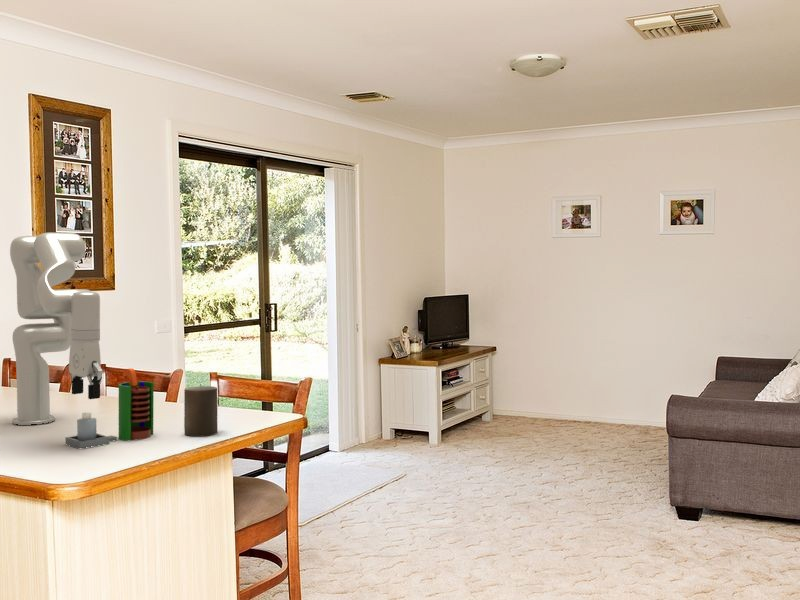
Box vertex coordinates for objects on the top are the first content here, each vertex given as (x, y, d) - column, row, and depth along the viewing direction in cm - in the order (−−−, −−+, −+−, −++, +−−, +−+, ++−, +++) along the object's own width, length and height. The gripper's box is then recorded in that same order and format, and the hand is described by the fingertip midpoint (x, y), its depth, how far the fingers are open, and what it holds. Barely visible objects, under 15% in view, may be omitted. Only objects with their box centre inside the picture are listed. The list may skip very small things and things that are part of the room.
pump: (74, 444, 223) (73, 413, 222) (91, 441, 227) (90, 410, 226) (82, 447, 219) (82, 415, 219) (100, 444, 223) (99, 413, 223)
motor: (139, 441, 227) (139, 371, 226) (111, 439, 229) (110, 370, 228) (157, 434, 237) (156, 367, 236) (130, 432, 239) (129, 366, 238)
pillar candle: (209, 437, 232) (209, 386, 232) (178, 435, 234) (178, 385, 233) (222, 431, 242) (222, 382, 241) (192, 429, 243) (192, 381, 243)
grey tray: (65, 444, 223) (65, 437, 223) (106, 437, 232) (106, 430, 232) (80, 449, 217) (79, 441, 217) (121, 441, 226) (121, 434, 226)
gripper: (58, 333, 225) (58, 393, 226) (87, 339, 213) (87, 402, 214) (83, 332, 230) (83, 390, 231) (113, 337, 219) (113, 398, 220)
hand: (85, 396), depth 223 cm, fingers open, 9 cm apart
